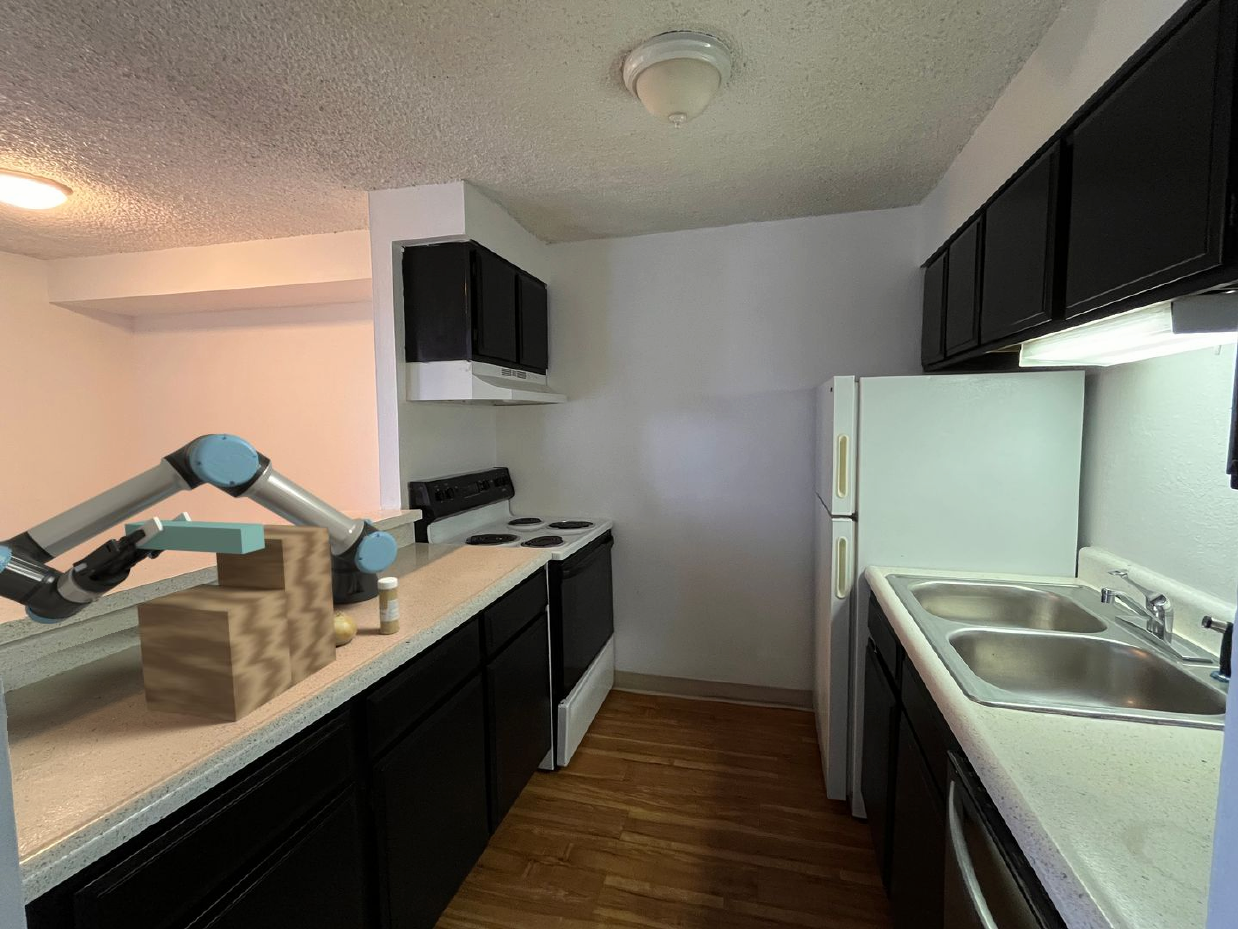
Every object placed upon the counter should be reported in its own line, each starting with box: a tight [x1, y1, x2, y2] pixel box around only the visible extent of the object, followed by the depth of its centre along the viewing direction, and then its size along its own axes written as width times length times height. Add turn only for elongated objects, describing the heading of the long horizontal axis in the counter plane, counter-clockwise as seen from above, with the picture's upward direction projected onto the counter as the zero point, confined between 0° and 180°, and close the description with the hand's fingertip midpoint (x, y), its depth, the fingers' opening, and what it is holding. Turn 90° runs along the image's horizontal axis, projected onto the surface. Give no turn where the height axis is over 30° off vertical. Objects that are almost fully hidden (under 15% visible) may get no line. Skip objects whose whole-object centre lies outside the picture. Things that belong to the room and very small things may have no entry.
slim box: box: [124, 519, 265, 554], centre depth 96 cm, size 4×26×4 cm, turn 78°
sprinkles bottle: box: [378, 576, 400, 635], centre depth 129 cm, size 5×5×14 cm
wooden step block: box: [136, 524, 337, 722], centre depth 104 cm, size 24×20×30 cm
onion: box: [333, 611, 358, 647], centre depth 123 cm, size 8×8×7 cm
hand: (173, 520), depth 96 cm, fingers closed on slim box, 4 cm apart
